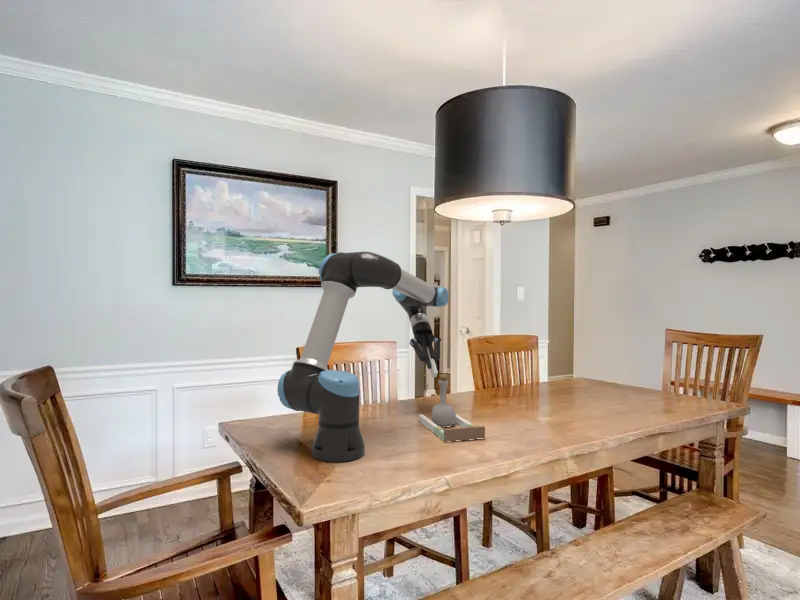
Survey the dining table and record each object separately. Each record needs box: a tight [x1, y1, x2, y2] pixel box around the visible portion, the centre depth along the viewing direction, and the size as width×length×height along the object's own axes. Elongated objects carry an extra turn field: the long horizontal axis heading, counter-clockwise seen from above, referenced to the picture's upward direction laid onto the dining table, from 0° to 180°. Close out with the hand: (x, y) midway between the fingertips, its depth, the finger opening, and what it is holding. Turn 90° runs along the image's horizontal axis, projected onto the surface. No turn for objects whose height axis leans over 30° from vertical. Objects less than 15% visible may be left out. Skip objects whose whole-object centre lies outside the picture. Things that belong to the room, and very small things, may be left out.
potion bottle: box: [430, 373, 457, 427], centre depth 171 cm, size 9×9×18 cm
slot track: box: [418, 413, 486, 443], centre depth 165 cm, size 26×14×4 cm, turn 16°
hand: (435, 374), depth 180 cm, fingers closed
